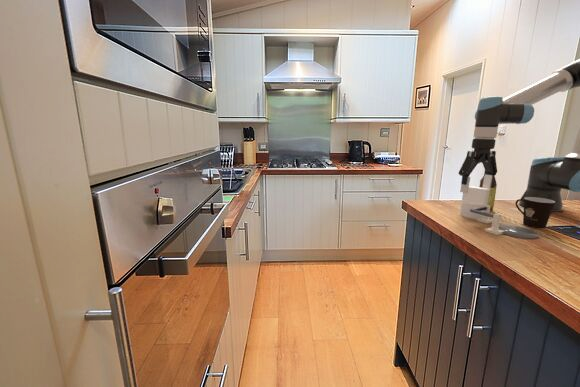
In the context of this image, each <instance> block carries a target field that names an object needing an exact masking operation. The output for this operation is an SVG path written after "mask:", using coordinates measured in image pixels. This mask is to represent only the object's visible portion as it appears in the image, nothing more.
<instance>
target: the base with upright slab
mask: <svg viewBox="0 0 580 387" xmlns="http://www.w3.org/2000/svg"><path fill="white" fill-rule="evenodd" d="M489 192H490V189H487V188H480V187H477V186H473V185H469V189H468V193H463V192H462V195H461V196H462V197H461V203H460V204H461V205H460V210H459V216H461V217H464V218H466V219H467V218H468V219H472V220H476V219H478V218H482V215H480V214H476V213H473V212H470V209H472V208H479V207H484V205H487V204H488V198H489ZM482 212H483V210H482Z"/></svg>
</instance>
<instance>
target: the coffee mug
mask: <svg viewBox="0 0 580 387" xmlns="http://www.w3.org/2000/svg"><path fill="white" fill-rule="evenodd" d="M520 200H521V201H523V202H524V206H523V210H522V209H521V208H520V207H519V202H520ZM554 204H555V201H553V200H549V199H544V198H536V197H525V198H524V200H523V199H521V198H519V199H517V200H515V206H516V207H515V208H517V210H518V211H519V212H520V213H521V214H522V218H523V219H522V224H523V226H524V227H526V228H527V227H528V228H532V229H537V230H539V229H540V230H543V229H546V227H547V225H548V222H549V219H550V217H551V214H552V212H553V211H552V209H553V207H554Z"/></svg>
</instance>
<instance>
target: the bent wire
mask: <svg viewBox="0 0 580 387" xmlns="http://www.w3.org/2000/svg"><path fill="white" fill-rule="evenodd" d="M482 210H487V207H479V208H472V209H470V212H473V213H476V214H480V215H484V216H487V217H489V218H492V219H493V216H494V214H495V213H486V212H482Z"/></svg>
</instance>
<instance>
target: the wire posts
mask: <svg viewBox="0 0 580 387" xmlns="http://www.w3.org/2000/svg"><path fill="white" fill-rule="evenodd" d="M484 207H487V210H483V212H486V213H490V212H491V211H490V207H491V206H490V205H484ZM490 214H491V213H490ZM493 214H494V216H493V218H492V219H490V217H487V216H484V215H482V218H478V219H475V220H476V222H479V223H483V224H491V227H488V228H485V229H484V232H486V233H489V234H492V235H496V236H498V235H499V236H500V235H503V234H502V233H503V232H504V231H502V230H499V225H501V224H500V223H501V217H502V214H499V213H493Z"/></svg>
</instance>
